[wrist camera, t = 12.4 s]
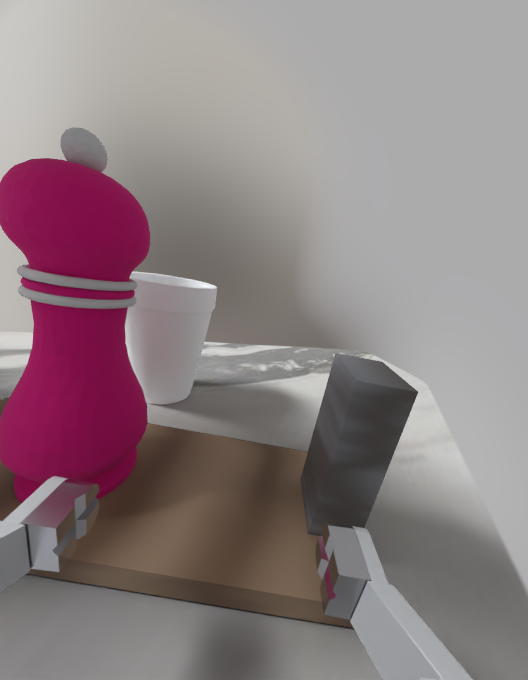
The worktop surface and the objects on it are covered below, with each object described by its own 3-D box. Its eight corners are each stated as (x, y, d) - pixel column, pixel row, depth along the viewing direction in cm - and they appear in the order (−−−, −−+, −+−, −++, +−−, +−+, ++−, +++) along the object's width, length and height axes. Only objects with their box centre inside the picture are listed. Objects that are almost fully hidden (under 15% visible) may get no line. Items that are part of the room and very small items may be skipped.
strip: (-216, 533, 11) (-337, 285, 8) (8, 413, 21) (-9, 277, 18) (370, 631, 12) (466, 432, 9) (326, 469, 21) (364, 347, 18)
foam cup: (148, 367, 34) (153, 272, 30) (212, 381, 34) (225, 286, 30) (96, 401, 25) (95, 271, 21) (184, 421, 24) (198, 291, 21)
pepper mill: (154, 445, 20) (178, 179, 15) (122, 534, 14) (147, 109, 9) (54, 441, 19) (46, 143, 14) (-40, 540, 12) (-120, 23, 7)
